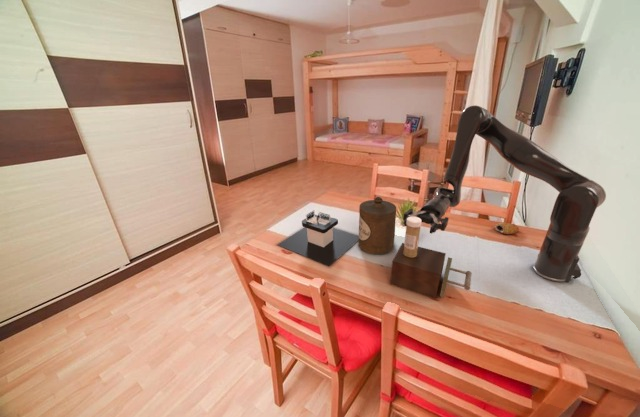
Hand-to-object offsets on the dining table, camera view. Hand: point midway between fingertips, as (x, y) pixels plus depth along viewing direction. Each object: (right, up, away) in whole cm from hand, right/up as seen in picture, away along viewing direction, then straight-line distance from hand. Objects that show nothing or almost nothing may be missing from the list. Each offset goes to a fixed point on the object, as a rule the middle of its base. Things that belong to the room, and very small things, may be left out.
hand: (418, 227), depth 88 cm
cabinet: (+1, -19, +4) cm, 19 cm away
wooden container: (-9, -10, +25) cm, 28 cm away
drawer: (+6, -19, +1) cm, 20 cm away
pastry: (+52, -4, +32) cm, 61 cm away
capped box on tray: (-33, -8, +30) cm, 45 cm away
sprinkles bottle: (-2, -9, +1) cm, 10 cm away
